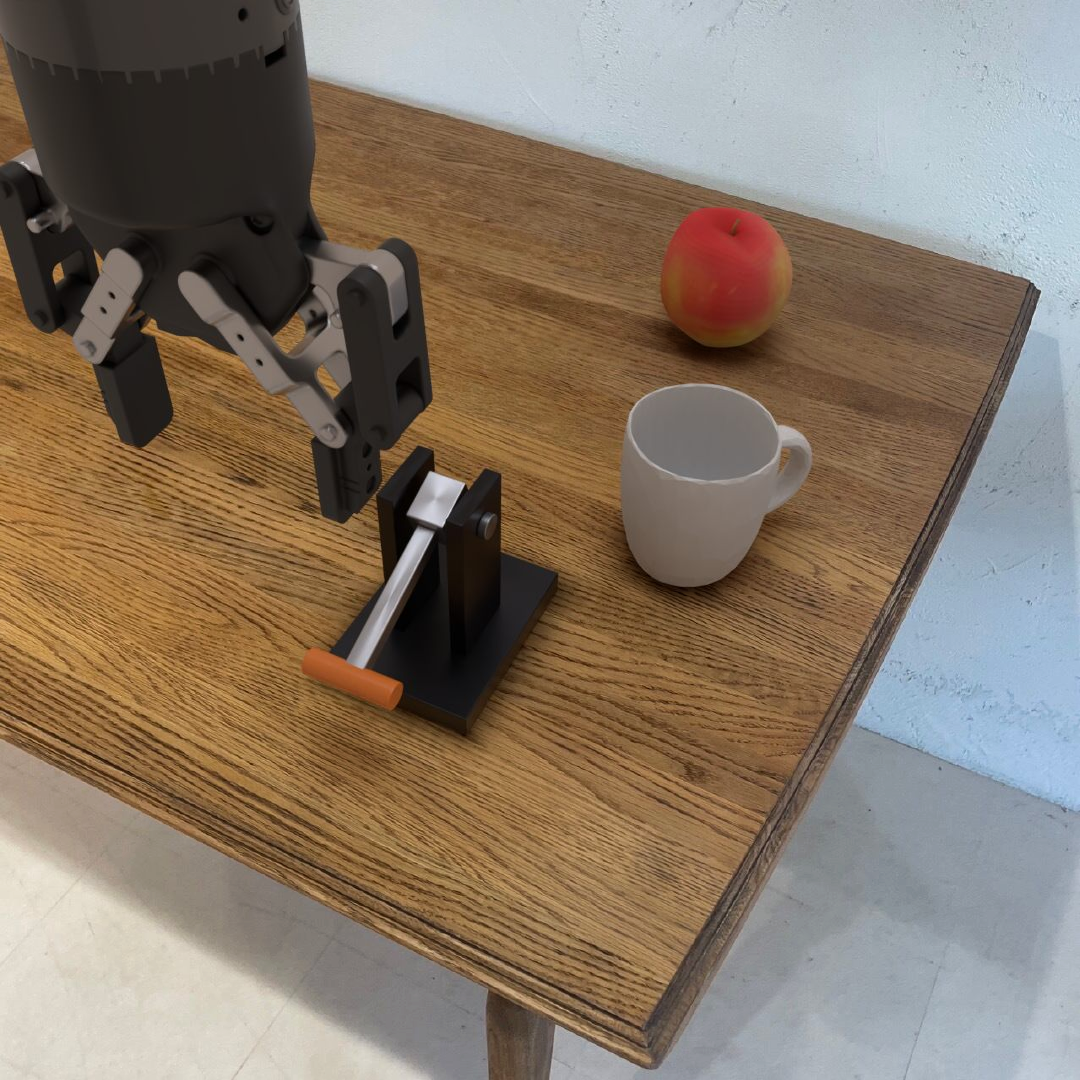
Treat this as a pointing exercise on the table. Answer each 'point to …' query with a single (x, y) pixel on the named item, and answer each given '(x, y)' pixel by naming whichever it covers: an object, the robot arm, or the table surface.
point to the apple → (725, 276)
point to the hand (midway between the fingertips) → (246, 468)
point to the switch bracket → (453, 601)
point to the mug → (703, 479)
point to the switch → (391, 599)
